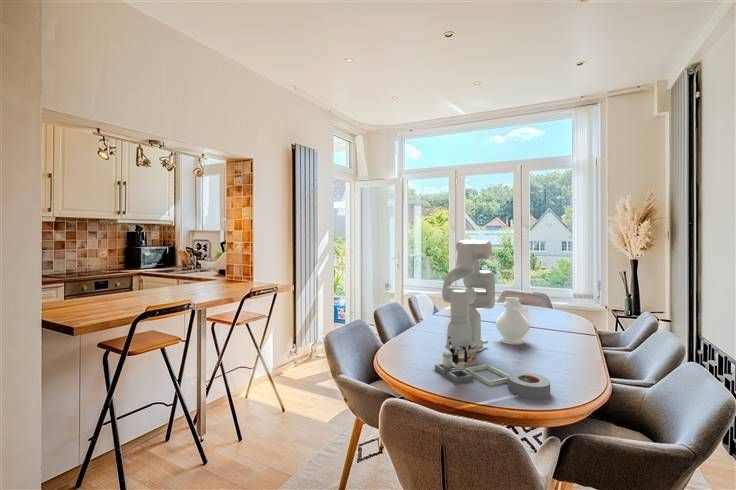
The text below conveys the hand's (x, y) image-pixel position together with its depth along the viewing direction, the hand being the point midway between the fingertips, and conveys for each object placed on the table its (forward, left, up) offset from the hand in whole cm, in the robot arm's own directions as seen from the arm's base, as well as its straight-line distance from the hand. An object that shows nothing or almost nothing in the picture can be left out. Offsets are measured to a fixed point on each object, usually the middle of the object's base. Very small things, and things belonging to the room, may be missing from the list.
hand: (459, 361), depth 152 cm
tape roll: (-19, +19, -8) cm, 28 cm away
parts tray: (-13, +3, -8) cm, 15 cm away
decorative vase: (-62, -35, -8) cm, 71 cm away
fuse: (0, -9, -7) cm, 11 cm away
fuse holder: (0, -4, -8) cm, 9 cm away
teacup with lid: (-17, -16, -8) cm, 24 cm away
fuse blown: (0, 0, -3) cm, 3 cm away
